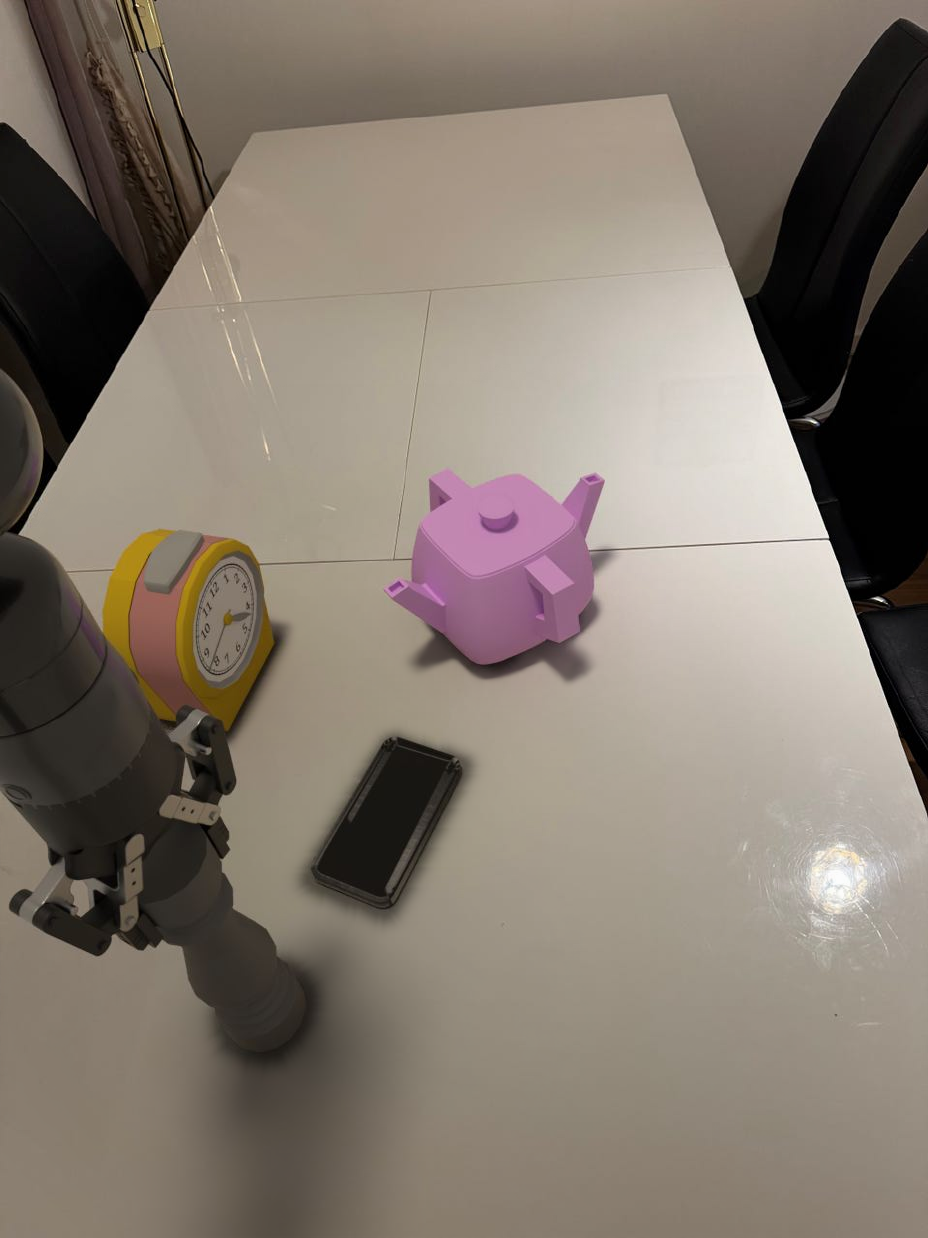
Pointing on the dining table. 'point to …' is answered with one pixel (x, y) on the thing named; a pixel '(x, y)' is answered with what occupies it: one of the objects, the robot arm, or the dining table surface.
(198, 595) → the alarm clock
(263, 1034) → the candle holder
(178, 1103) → the dining table surface
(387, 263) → the dining table surface
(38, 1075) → the dining table surface
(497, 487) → the teapot
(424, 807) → the phone
